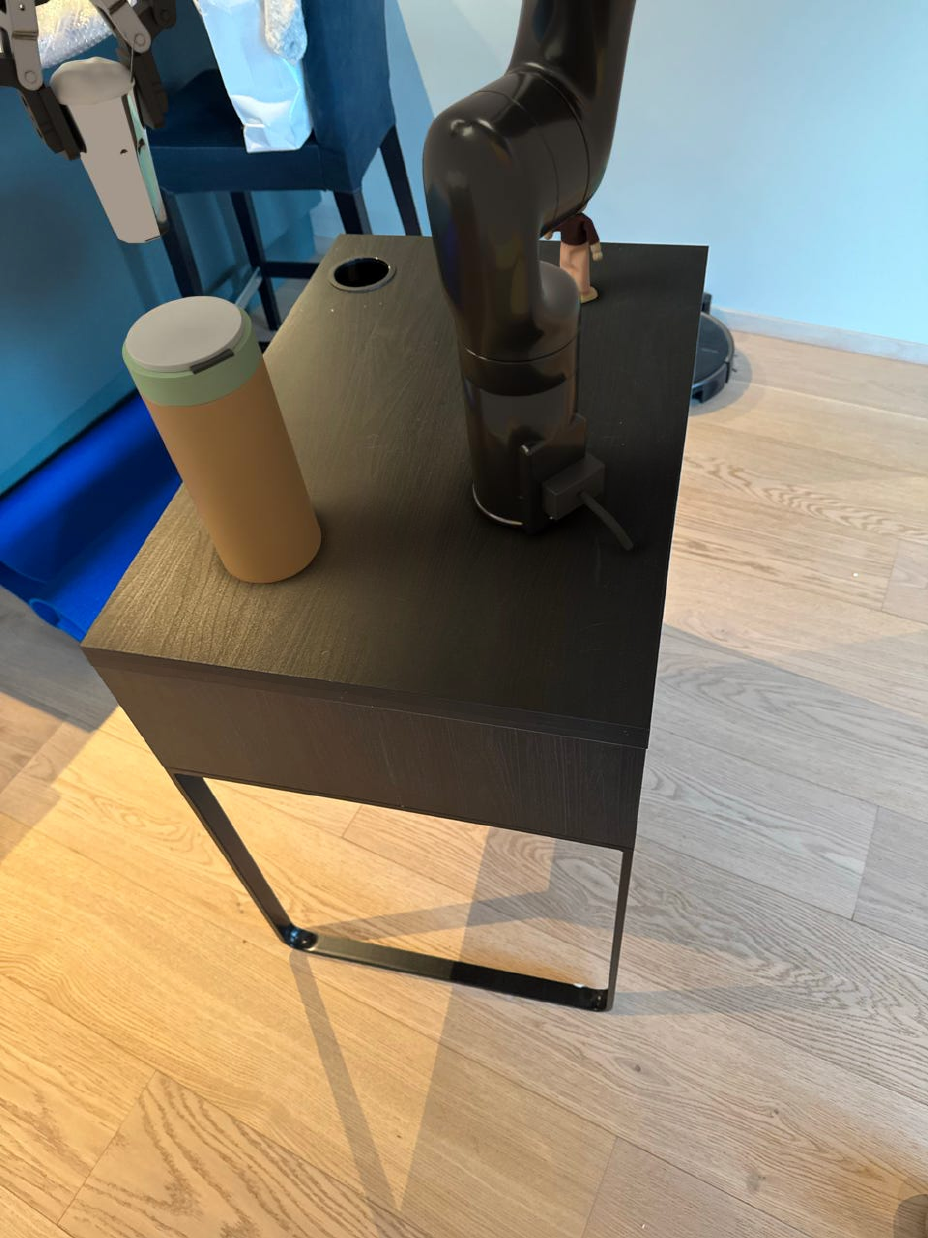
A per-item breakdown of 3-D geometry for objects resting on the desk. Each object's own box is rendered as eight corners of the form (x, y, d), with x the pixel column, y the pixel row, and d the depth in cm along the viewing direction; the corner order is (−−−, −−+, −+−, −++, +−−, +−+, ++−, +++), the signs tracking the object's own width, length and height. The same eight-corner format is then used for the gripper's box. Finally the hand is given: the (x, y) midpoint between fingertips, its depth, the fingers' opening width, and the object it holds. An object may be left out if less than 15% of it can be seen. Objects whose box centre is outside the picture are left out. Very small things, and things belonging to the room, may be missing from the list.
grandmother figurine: (611, 291, 94) (618, 174, 83) (596, 309, 92) (600, 192, 82) (551, 275, 96) (550, 161, 86) (534, 293, 95) (531, 178, 85)
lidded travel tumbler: (204, 541, 76) (98, 328, 58) (290, 494, 78) (213, 276, 61) (250, 600, 71) (149, 388, 54) (340, 548, 74) (272, 329, 56)
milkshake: (184, 247, 50) (121, 54, 42) (97, 250, 50) (19, 60, 43) (201, 211, 53) (145, 25, 45) (118, 215, 53) (49, 30, 46)
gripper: (-233, -259, 30) (13, 209, 44) (131, -331, 34) (253, 116, 48) (-261, -269, 34) (-27, 163, 48) (69, -333, 38) (197, 80, 52)
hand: (112, 137), depth 48 cm, fingers closed on milkshake, 4 cm apart
